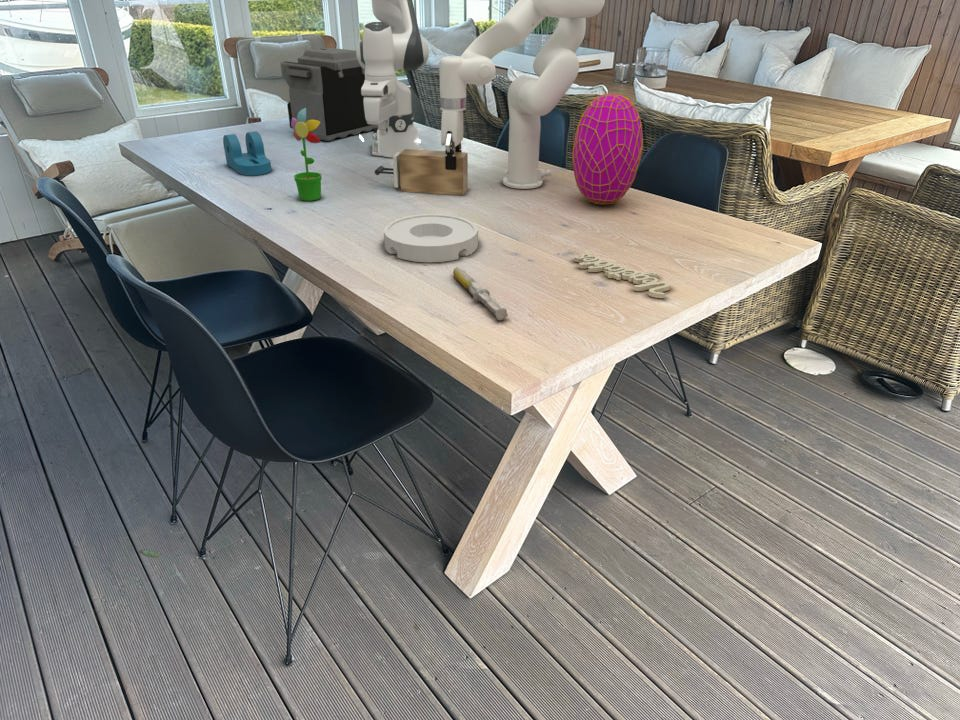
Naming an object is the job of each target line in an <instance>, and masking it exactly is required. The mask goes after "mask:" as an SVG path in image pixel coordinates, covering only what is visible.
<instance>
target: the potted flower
mask: <svg viewBox="0 0 960 720" xmlns="http://www.w3.org/2000/svg"><path fill="white" fill-rule="evenodd" d="M305 122H306V108H304V109H302V110H301V111H300V112H299V113H298V115H297V120H296V119H295V118H292V121H291V126H292V128H291V129H293V132H292V134H293V137H294V138H295V139H296V141H297V142H300V141H301V140H302V147H303V149H301V150H300V155H301V156H302V157H304V165H305V171H303V172H299V173H296V174H294V175H293V179H294V182H295V185H296V188H297V193H298V197H299V199H300V200H301V201H306V202H311V201H317V200H320V199H321V197H322V180H323V179H322V178H323V177H322V174H321V173H320V172H316V171H309V165H312V164H314V163H315V159H314V158H312V157H308V156H307V148H306V141H307V142H309V143H311V144H318V143H321V142H322V140H320V139H319V138H318V137H317V136H316V135H315V134H313V133H312V132H309V131H313V130H315V129H316V128H317V127H318V126H319V124H320V121H318V120H309V121H307V122H306V123H305ZM294 129H295V131H294Z"/></svg>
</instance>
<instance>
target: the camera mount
mask: <svg viewBox="0 0 960 720" xmlns="http://www.w3.org/2000/svg"><path fill="white" fill-rule="evenodd" d="M222 140H223V141H222V143H223V149H224V150H223V151H224V156H225V161H226V165H227V166H228V167H230V168H231V169H232V170H234V171H236V172H237V173H238V174H239V175H244V176H260V175H265V174H268V173H271V172H272V164H271V159H270V158H268V157H267V156H266V153H265V145H264V141H263V139H262V136H261V134H260V132H258V131H247V132H246V133H245V146H246V152H243V151H242V150H243V149H242V146H241V142H240V140H239V138H238V135H236V134H235V133H231V134H224V135H223V138H222Z"/></svg>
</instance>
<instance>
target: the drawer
mask: <svg viewBox="0 0 960 720" xmlns="http://www.w3.org/2000/svg"><path fill="white" fill-rule="evenodd" d="M400 153H401V152H397V153H396V154H395V155H394V156H393V158H392V167H384V165H380V166H378V167H377V168H376V169H375V170H374V174H375V175H376V176H379V175H381V174H385V175H393V186H394V188H399V187H401V184H400V164H399V154H400Z"/></svg>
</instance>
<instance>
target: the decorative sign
mask: <svg viewBox="0 0 960 720" xmlns="http://www.w3.org/2000/svg"><path fill="white" fill-rule="evenodd" d="M574 262H575V263H578V269H588V270H587V272H588V273H598V272H603V273H604V276H606V277H607V278H608V279H614V280H617V281H621V279H622V280H627V281H628V282H630V283H633V284H634V285H633V291H636V292H643V291H647V290H648V293H647V294H648V296H649V297H652V298H656V299H664V298H665V295H666V292H668V291H669V290H670V289H671V283H670V282H668V281H659V279H658V272H657V271H648V272H639V271H637V270H634V269H630V268H628V267H627V266H626V267H625V266H624V265H619V264H618V263H615V262H611V261H610V260H604V258H601V257H598V256H596V255H592V254H590V253H587V252H586V253H582V254H581V255H580V256H578V255H575V256H574Z"/></svg>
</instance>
